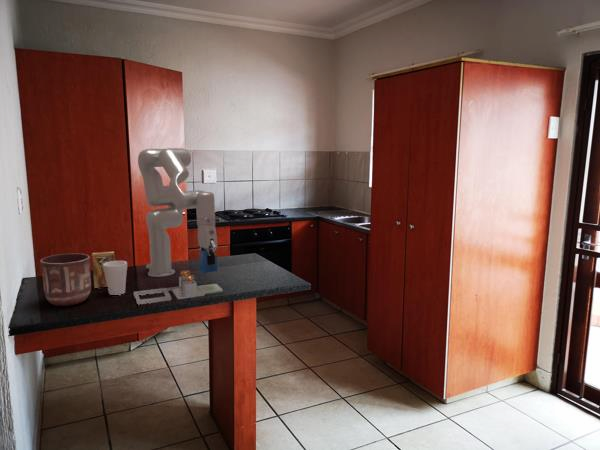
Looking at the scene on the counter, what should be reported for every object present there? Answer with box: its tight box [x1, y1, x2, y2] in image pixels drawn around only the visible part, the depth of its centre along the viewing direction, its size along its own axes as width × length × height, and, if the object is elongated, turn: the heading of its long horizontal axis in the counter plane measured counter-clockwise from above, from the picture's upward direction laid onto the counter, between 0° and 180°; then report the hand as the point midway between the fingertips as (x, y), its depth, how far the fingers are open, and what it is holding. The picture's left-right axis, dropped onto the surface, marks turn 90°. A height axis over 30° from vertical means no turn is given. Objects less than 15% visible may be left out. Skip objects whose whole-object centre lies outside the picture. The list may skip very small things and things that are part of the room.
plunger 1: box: [179, 269, 191, 279], centre depth 197 cm, size 4×4×7 cm
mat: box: [197, 283, 224, 295], centre depth 199 cm, size 10×10×1 cm
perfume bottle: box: [198, 247, 218, 274], centre depth 197 cm, size 6×6×12 cm
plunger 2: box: [184, 274, 195, 284], centre depth 190 cm, size 4×4×7 cm
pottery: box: [39, 252, 92, 307], centre depth 182 cm, size 18×18×18 cm
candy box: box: [91, 251, 116, 289], centre depth 202 cm, size 9×4×15 cm, turn 110°
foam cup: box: [103, 260, 128, 296], centre depth 193 cm, size 10×9×13 cm
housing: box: [133, 275, 206, 306], centre depth 191 cm, size 26×14×6 cm, turn 116°
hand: (207, 262), depth 197 cm, fingers closed on perfume bottle, 6 cm apart
